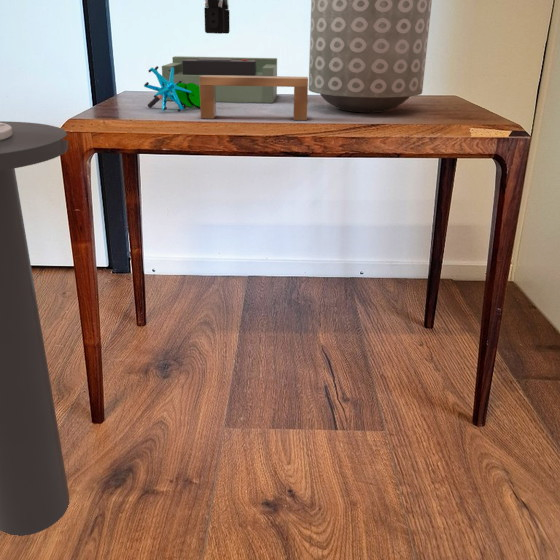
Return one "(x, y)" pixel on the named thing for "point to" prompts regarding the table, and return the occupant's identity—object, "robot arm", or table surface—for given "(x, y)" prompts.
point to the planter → (368, 52)
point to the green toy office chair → (174, 92)
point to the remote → (219, 67)
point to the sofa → (230, 92)
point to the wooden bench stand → (276, 81)
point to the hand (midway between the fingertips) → (217, 33)
